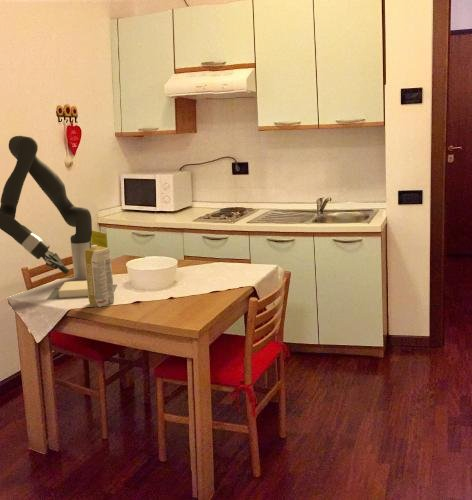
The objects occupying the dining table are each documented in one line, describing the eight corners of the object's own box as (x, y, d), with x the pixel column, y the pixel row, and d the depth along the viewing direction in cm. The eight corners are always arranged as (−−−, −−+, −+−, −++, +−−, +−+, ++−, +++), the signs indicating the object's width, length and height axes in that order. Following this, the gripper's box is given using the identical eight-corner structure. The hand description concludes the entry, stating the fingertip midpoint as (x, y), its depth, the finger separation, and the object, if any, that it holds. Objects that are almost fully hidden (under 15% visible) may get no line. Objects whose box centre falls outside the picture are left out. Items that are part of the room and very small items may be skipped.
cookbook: (58, 290, 268) (106, 287, 269) (65, 281, 282) (111, 279, 283) (59, 297, 268) (107, 294, 269) (66, 288, 282) (111, 285, 283)
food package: (111, 275, 304) (107, 233, 299) (108, 275, 303) (105, 234, 299) (95, 270, 315) (91, 230, 311) (92, 270, 314) (89, 230, 310)
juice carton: (104, 299, 264) (99, 242, 259) (117, 302, 259) (112, 244, 254) (86, 305, 257) (80, 246, 252) (99, 308, 252) (93, 248, 247)
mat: (46, 300, 266) (46, 299, 266) (55, 288, 284) (55, 287, 284) (111, 296, 267) (111, 295, 267) (117, 285, 285) (117, 284, 285)
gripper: (37, 242, 263) (70, 269, 267) (44, 236, 276) (76, 262, 279) (25, 255, 264) (58, 282, 267) (33, 249, 277) (65, 274, 280)
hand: (67, 272), depth 273 cm, fingers closed
